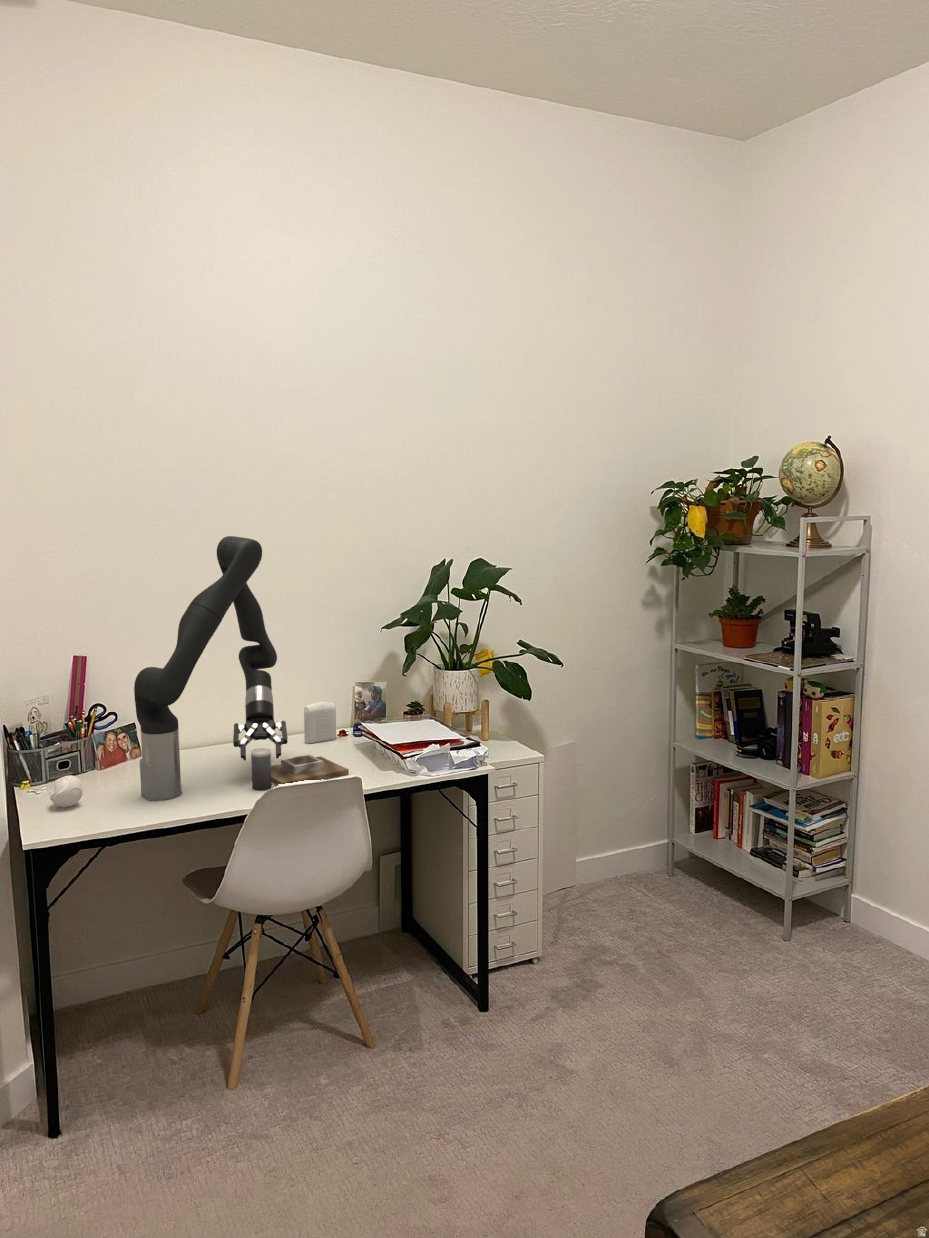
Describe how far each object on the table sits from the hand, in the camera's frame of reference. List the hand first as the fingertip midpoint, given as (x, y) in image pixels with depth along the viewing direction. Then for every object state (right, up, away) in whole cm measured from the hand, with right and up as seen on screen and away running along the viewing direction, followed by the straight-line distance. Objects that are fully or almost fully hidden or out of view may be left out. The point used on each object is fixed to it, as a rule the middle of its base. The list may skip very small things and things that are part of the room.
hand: (261, 757), depth 254 cm
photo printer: (+9, -1, +45) cm, 46 cm away
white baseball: (-45, -10, -15) cm, 49 cm away
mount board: (+9, -6, +10) cm, 15 cm away
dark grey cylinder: (+1, -8, -1) cm, 8 cm away
